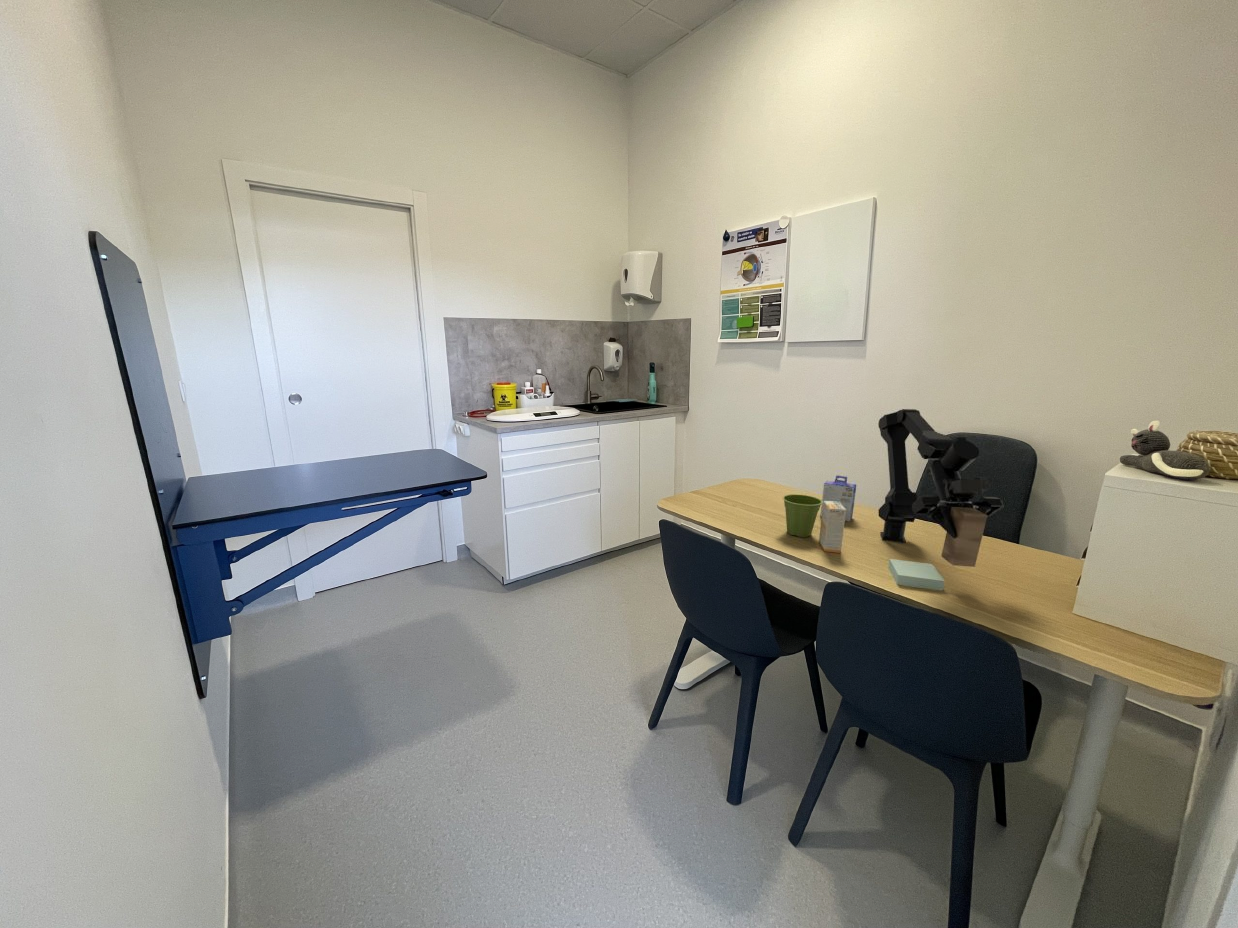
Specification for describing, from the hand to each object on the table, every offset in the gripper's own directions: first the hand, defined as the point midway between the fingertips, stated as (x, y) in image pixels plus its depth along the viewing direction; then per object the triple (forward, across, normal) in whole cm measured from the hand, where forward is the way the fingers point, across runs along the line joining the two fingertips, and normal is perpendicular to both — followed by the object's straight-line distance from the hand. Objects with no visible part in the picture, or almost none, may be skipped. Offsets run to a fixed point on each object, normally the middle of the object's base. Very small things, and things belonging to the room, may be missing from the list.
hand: (967, 538), depth 115 cm
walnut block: (+4, 0, +6) cm, 7 cm away
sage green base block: (+6, -7, +14) cm, 17 cm away
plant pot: (-15, -28, +34) cm, 47 cm away
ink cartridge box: (-27, -10, +47) cm, 55 cm away
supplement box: (-7, -22, +27) cm, 35 cm away
